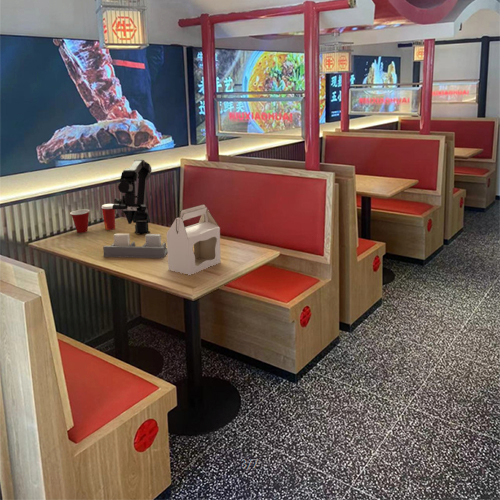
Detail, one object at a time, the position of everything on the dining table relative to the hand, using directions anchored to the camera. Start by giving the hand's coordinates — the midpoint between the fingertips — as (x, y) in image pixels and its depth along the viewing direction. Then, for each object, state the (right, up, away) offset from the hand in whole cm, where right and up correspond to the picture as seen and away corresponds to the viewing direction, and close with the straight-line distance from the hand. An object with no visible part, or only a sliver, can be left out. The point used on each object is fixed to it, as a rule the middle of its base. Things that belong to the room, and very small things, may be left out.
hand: (129, 223), depth 285 cm
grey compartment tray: (+7, -15, -13) cm, 21 cm away
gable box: (+37, -22, -32) cm, 53 cm away
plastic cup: (-33, -3, +27) cm, 43 cm away
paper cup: (-18, -2, +32) cm, 37 cm away
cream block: (-1, -13, -10) cm, 17 cm away
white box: (+15, -14, -12) cm, 23 cm away
